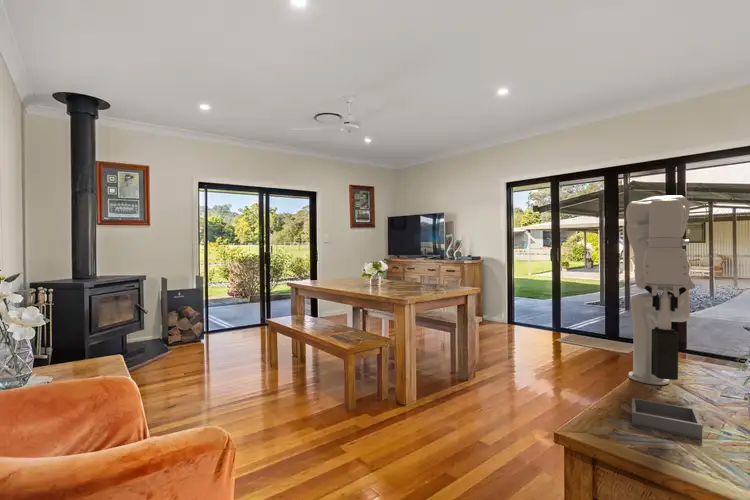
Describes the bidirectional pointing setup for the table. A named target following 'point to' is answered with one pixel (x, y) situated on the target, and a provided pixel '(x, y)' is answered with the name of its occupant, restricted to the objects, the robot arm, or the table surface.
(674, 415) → the tray
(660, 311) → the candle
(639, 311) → the robot arm
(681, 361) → the table surface
